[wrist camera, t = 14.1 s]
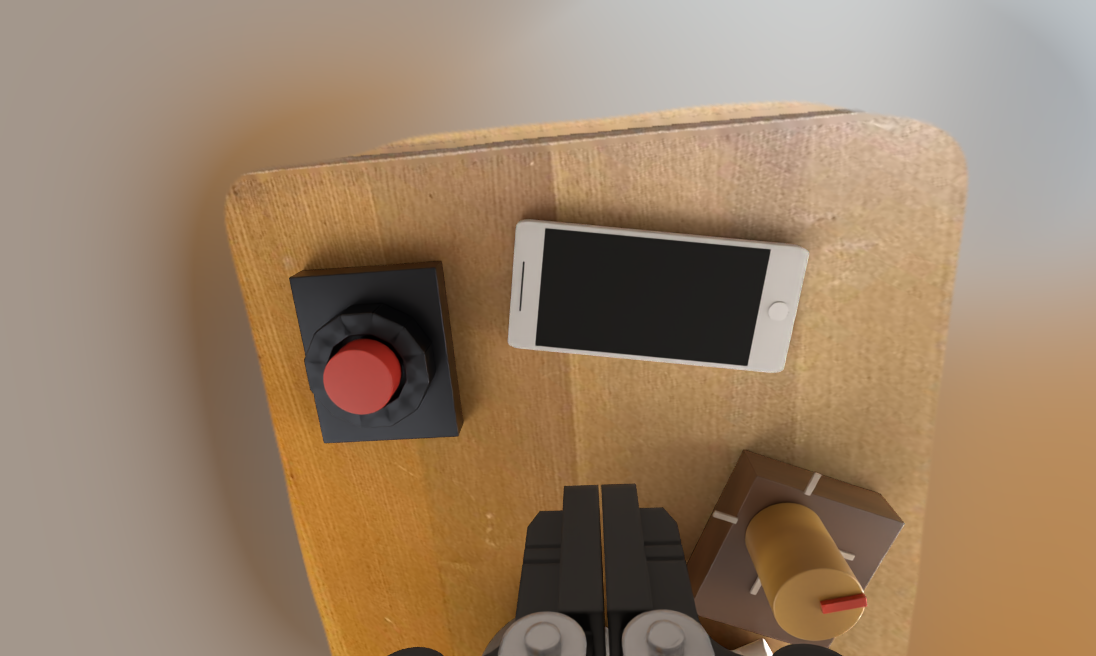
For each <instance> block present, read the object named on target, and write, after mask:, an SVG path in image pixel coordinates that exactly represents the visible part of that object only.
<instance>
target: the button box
mask: <svg viewBox="0 0 1096 656" xmlns="http://www.w3.org/2000/svg"><path fill="white" fill-rule="evenodd" d="M289 280H290V285H291V289H292V294H293V299H294V304H295V308H296V313H297V318H298V322H299V327H300V332H301V337H302V341H303V346H304V351H305V356H306V357H305V359H304V360H305V361H304V362H305V367H306V372H307V376H308V381H309V386H310V390H311V391H312V393H313V394H314V398H315V403H316V408H317V412H318V417H319V422H320V427H321V431H322V436H323V441H324V443H340V442H359V441H378V440H398V439H417V438H436V437H456V436H459V433H460V430H461V428H462V425H463V417H462V410H461V402H460V395H459V387H458V380H457V372H456V365H455V357H454V350H453V342H452V335H451V327H450V320H449V312H448V305H447V297H446V290H445V282H444V275H443V267H442V261H432V262H418V263H404V264H389V265H375V266H361V267H346V268H332V269H318V270H303V271H301V272H299V273H297V274H295V275H293V276H291V277H290V278H289ZM357 339H372V340H376V341H379V342H381V343H383V344H385V345H386V346H388V347H389V348H390V349H391V350H392V351H393V352H394V353H395V355H396V356H397V358H398V360H399V362H400V365H401V372H402V374H401V381H400V384H399V386H398V388H397V389H396V391H395V392H394V394H393V395H392V397H391V398H390V400H389V401H388V403H387V404H386V405H385V406H384V407H383V408H381V409H380V410H378V411H376V412H374V413H370V414H354V413H350V412H347V411H345V410H343V409H341V408H340V407H338V406H337V405H336V404H335V403H334V402H333V401H332V400H331V399H330V397H329V396H328V394H327V392H326V390H325V387H324V382H323V374H324V370H325V367H326V365H327V363H328V362H329V360H330V359H331V358H332V357H333V356H334V355H335V354H336V353H337V352H338V351H339V350H340V349H341V348H342V347H343V346H345V345H346V344H347V343H349V342H351V341H353V340H357Z"/></svg>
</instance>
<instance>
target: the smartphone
mask: <svg viewBox="0 0 1096 656" xmlns="http://www.w3.org/2000/svg"><path fill="white" fill-rule="evenodd" d="M808 257H809V251H807V250H806V249H805V248H803V247H801V246H799V245H795V244H787V243H777V242H766V241H755V240H745V239H734V238H724V237H713V236H702V235H692V234H681V233H671V232H660V231H649V230H639V229H628V228H617V227H607V226H596V225H586V224H575V223H564V222H554V221H543V220H533V219H525V220H521V221H519V222H518V224H517V225H516V234H515V248H514V262H513V276H512V290H511V304H510V318H509V332H508V344H509V345H511V346H513V347H515V348H521V349H532V350H542V351H553V352H563V353H573V354H584V355H594V356H604V357H615V358H625V359H635V360H646V361H656V362H666V363H677V364H687V365H697V366H708V367H718V368H729V369H739V370H749V371H760V372H770V373H775V372H780V371H782V370H783V369H784V365H785V361H786V356H787V352H788V347H789V343H790V338H791V334H792V329H793V325H794V320H795V316H796V311H797V307H798V302H799V298H800V293H801V289H802V284H803V280H804V275H805V271H806V266H807V262H808Z"/></svg>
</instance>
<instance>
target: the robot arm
mask: <svg viewBox="0 0 1096 656" xmlns="http://www.w3.org/2000/svg"><path fill="white" fill-rule="evenodd" d="M601 489H602V511H603V532H604V553H605V575H606V596H607V617H608V636H609V655H610V656H743V655H740V654H737V653H734V652H732V651H730V650H728V649H726V648H724V647H723V646H721V645H719V644H718V643H717V642H715V641H714V640H713V639H712V638H711V637H710V636H709V635H708V634H707V632H706V631H705V629H704V628H703V627H702V625H701V623H700V621H699V618H698V614H697V610H696V606H695V601H694V597H693V592H692V588H691V583H690V579H689V575H688V570H687V566H686V561H685V558H684V552H683V548H682V545H681V539H680V535H679V530H678V526H677V523H676V521H675V520H674V519H673V518H672V517H671V516H670V515H669V514H668V513H667V511H666V510H665V509H664V508H663V507H662V508H639V503H638V496H637V489H636V484H607V485H601ZM388 656H443V655H442V654H441V653H439V652H438V651H436V650H433V649H430V648H425V647H412V648H406V649H402V650H399V651H397V652H394V653H392V654H390V655H388ZM484 656H606V638H605V613H604V589H603V566H602V546H601V527H600V508H599V490H598V485H580V486H564V495H563V511H540V512H539V513H538V514H537V515H536V517H535V518H534V519H533V521H532V522H531V523H530V525H529V526H528V528H527V535H526V543H525V550H524V557H523V565H522V572H521V580H520V587H519V595H518V602H517V609H516V617H515V622H514V623H513V624H512V625H511V626H510V627H509V628H508V629H507V630H506V632H505V634H504V635H503V638H502V641H501V644H500V646H498V647H497V648H496V649H495V650H493V651H492V652H490V653H488V654H486V655H484ZM772 656H842V655H840V654H838V653H837V652H835V651H833V650H830V649H828V648H825V647H822V646H818V645H813V644H804V643H801V644H792V645H787V646H785V647H782V648H780V649H779V650H777V651H776V652H775V653H774V654H773V655H772Z"/></svg>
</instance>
